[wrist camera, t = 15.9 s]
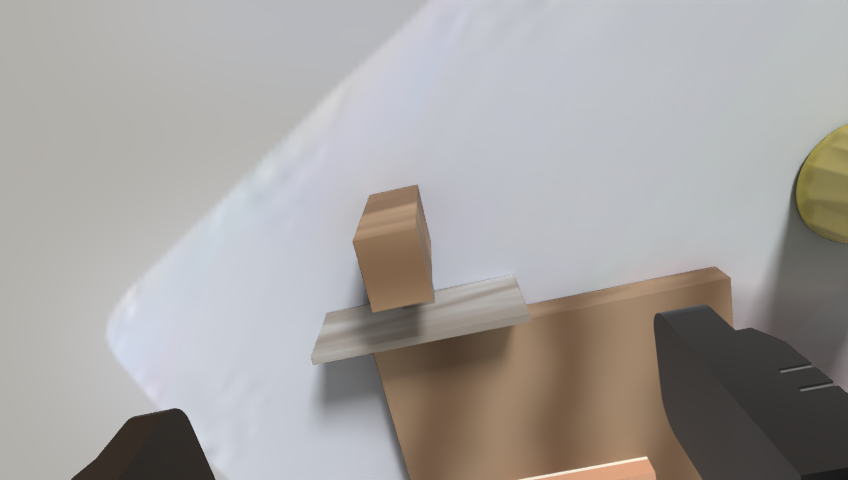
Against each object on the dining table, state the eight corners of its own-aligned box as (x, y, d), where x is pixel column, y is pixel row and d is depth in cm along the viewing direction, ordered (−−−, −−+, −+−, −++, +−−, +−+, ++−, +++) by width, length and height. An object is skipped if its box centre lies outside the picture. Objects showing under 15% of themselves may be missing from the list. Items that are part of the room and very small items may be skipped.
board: (715, 266, 28) (730, 277, 27) (731, 532, 34) (745, 553, 33) (374, 335, 30) (372, 350, 28) (445, 581, 35) (446, 603, 34)
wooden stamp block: (295, 211, 28) (254, 262, 21) (494, 167, 27) (517, 205, 20) (329, 319, 29) (301, 397, 23) (515, 281, 29) (543, 350, 22)
